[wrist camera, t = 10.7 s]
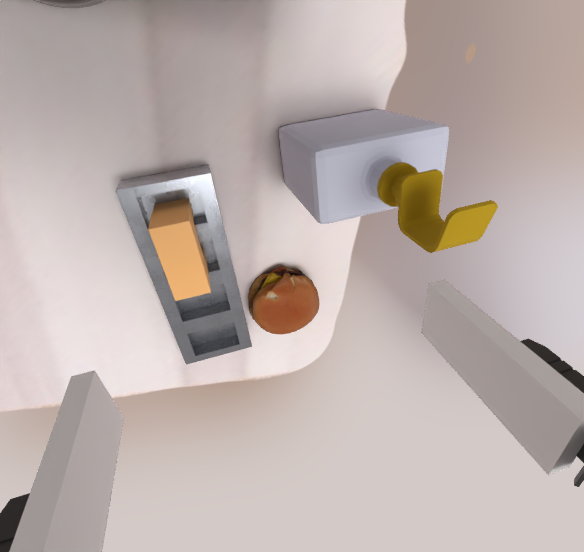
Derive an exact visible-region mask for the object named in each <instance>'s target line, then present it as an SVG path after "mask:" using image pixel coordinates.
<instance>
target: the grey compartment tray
mask: <svg viewBox="0 0 584 552" xmlns="http://www.w3.org/2000/svg"><path fill="white" fill-rule="evenodd" d="M116 193H117V195H118V198H119V200H120V203H121V205H122V207H123V210H124V212H125V215H126V217H127V220H128V222H129V225H130V227H131V230H132V232H133V235H134V237H135V240H136V242H137V245H138V247H139V249H140V252H141V254H142V257H143V259H144V262H145V264H146V267H147V269H148V272H149V274H150V277H151V279H152V282H153V284H154V286H155V289H156V291H157V294H158V296H159V299H160V301H161V304H162V306H163V309H164V311H165V314H166V316H167V319H168V321H169V324H170V326H171V328H172V331H173V333H174V336H175V338H176V341H177V343H178V346H179V348H180V351H181V353H182V356H183V358H184V361H185V363H186V364H190V363H193V362H197V361H201V360H204V359H208V358H212V357H215V356H219V355H223V354H226V353H230V352H234V351H237V350H241V349H245V348H248V347H252V344H251V340H250V336H249V332H248V327H247V323H246V319H245V315H244V311H243V307H242V302H241V298H240V294H239V290H238V286H237V282H236V277H235V273H234V269H233V265H232V261H231V257H230V252H229V248H228V244H227V240H226V236H225V232H224V227H223V223H222V219H221V215H220V211H219V207H218V202H217V198H216V194H215V190H214V186H213V181H212V177H211V173H210V169H209V165H204V166H198V167H193V168H187V169H182V170H176V171H171V172H165V173H159V174H154V175H148V176H143V177H137V178H131V179H126V180H121V182H120V183H119V185H118V187H117V189H116ZM186 198H189V200H190V204H191V207H192V210H193V220H194V225H195V229H196V232H197V235H198V239H199V242H200V246H201V247H203V248H204V252H205V255H206V259H207V267H208V273H209V281H210V289H211V293H207V294H203V295H198V296H194V297H190V298H186V299H182V300H178V301H175V299H174V296H173V293H172V291H171V288H170V286H169V283H168V280H167V278H166V275H165V272H164V270H163V267H162V264H161V262H160V259H159V256H158V254H157V251H156V249H155V246H154V243H153V241H152V238H151V235H150V233H149V230H148V228H149V223H150V219H151V214H152V213H153V209H154V205H155V204H161V203H166V202H171V201H176V200H181V199H186Z"/></svg>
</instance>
